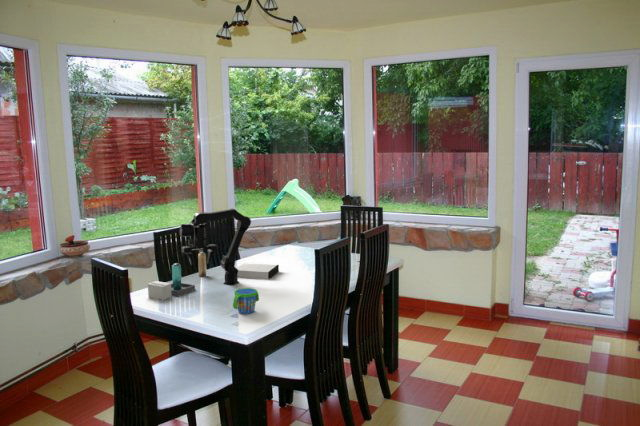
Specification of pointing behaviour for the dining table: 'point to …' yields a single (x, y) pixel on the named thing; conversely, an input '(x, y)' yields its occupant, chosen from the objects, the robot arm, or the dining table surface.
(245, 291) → the snack cup
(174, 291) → the tray
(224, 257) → the robot arm
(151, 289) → the block
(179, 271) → the cylinder
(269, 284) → the dining table surface
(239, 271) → the disc drive
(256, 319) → the dining table surface
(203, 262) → the cylinder
